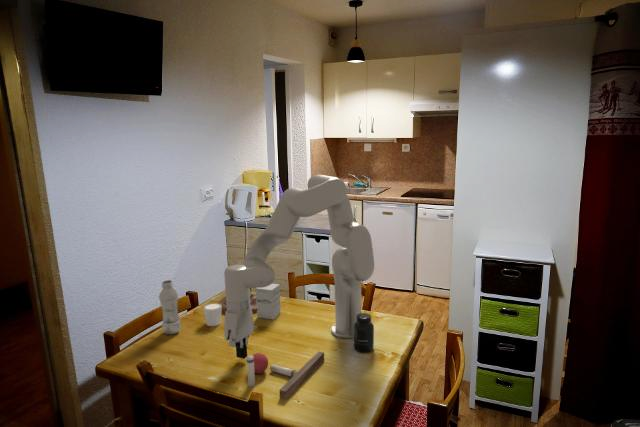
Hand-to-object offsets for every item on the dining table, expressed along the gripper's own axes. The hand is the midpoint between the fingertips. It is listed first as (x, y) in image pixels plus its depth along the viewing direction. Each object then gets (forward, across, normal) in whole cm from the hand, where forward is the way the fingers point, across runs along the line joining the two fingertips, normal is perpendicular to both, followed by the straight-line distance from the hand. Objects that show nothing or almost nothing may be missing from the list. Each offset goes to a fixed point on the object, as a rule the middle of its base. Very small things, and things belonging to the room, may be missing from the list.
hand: (241, 356), depth 145 cm
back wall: (+2, 0, +23) cm, 23 cm away
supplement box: (+2, -34, -12) cm, 36 cm away
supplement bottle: (+2, -24, +33) cm, 41 cm away
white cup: (+2, -19, -28) cm, 34 cm away
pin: (0, +1, +12) cm, 12 cm away
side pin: (+2, +10, +11) cm, 15 cm away
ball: (-2, +3, +9) cm, 9 cm away
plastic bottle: (+2, -6, -37) cm, 38 cm away
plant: (+2, -38, -29) cm, 48 cm away
